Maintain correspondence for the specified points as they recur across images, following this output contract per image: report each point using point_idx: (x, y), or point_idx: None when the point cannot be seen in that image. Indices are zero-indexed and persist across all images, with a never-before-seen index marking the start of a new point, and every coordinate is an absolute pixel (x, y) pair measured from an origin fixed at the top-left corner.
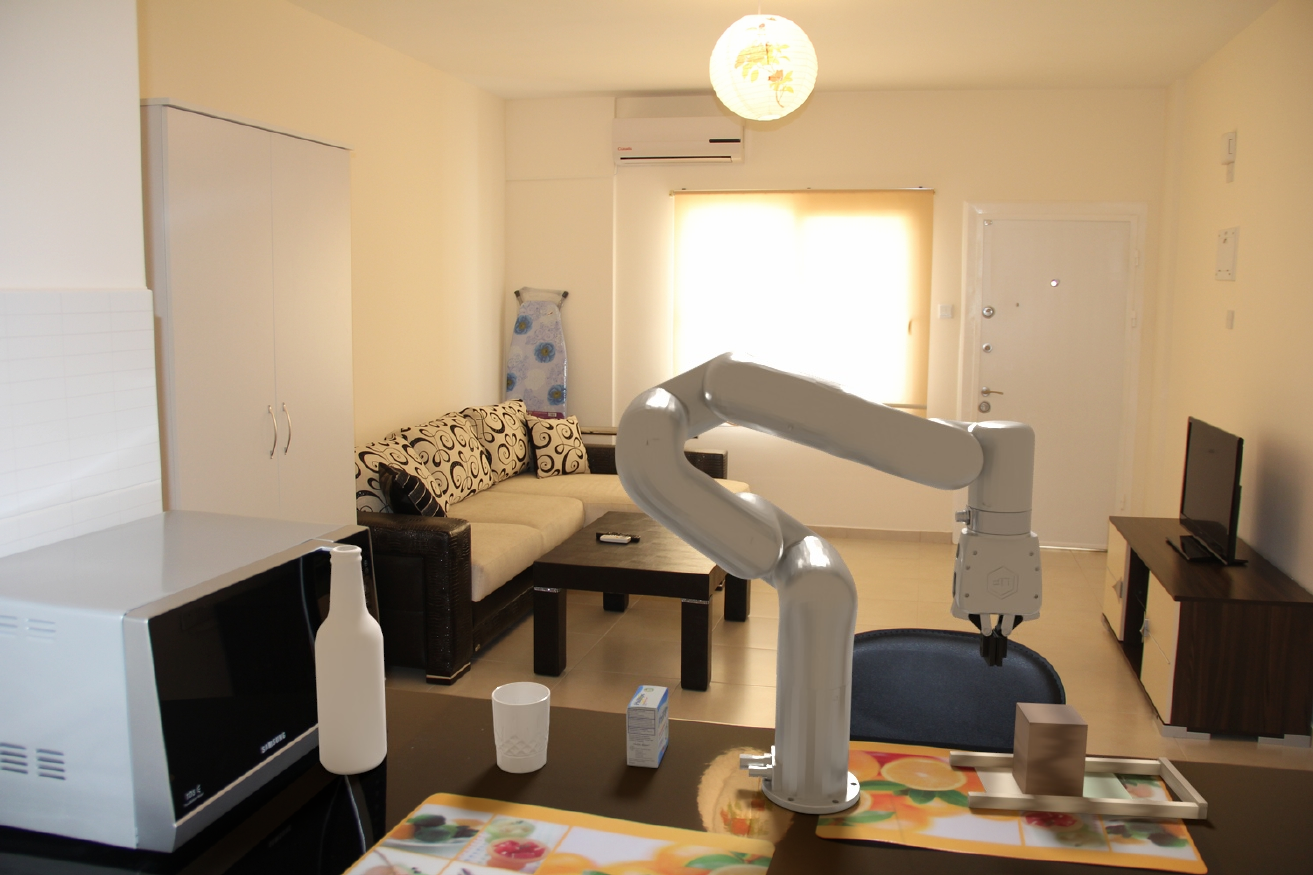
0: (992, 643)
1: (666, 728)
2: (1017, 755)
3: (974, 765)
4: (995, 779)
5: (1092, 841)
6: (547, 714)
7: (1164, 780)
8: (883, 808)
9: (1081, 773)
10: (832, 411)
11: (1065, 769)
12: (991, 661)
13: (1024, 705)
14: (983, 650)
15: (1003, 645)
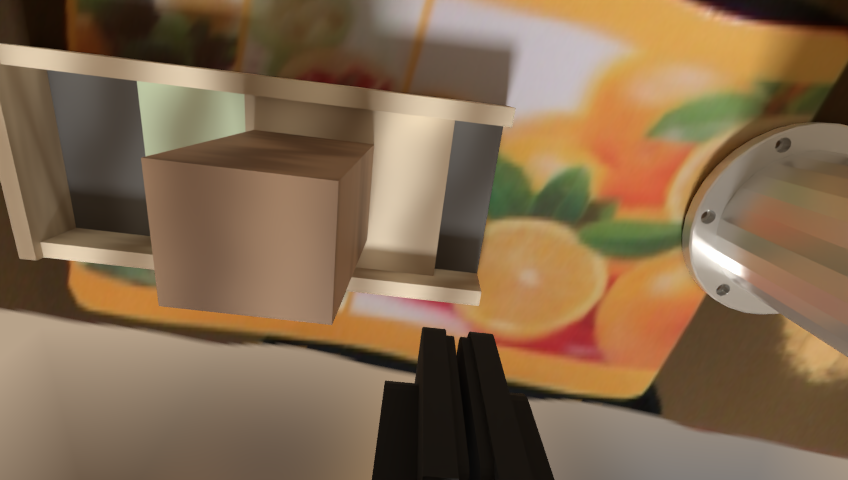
0: (504, 433)
1: None
2: (359, 231)
3: (431, 275)
4: (408, 221)
5: (279, 3)
6: None
7: (57, 212)
8: (663, 149)
9: (232, 137)
10: None
11: (268, 143)
12: (486, 345)
13: (313, 305)
14: (530, 418)
15: (403, 437)
